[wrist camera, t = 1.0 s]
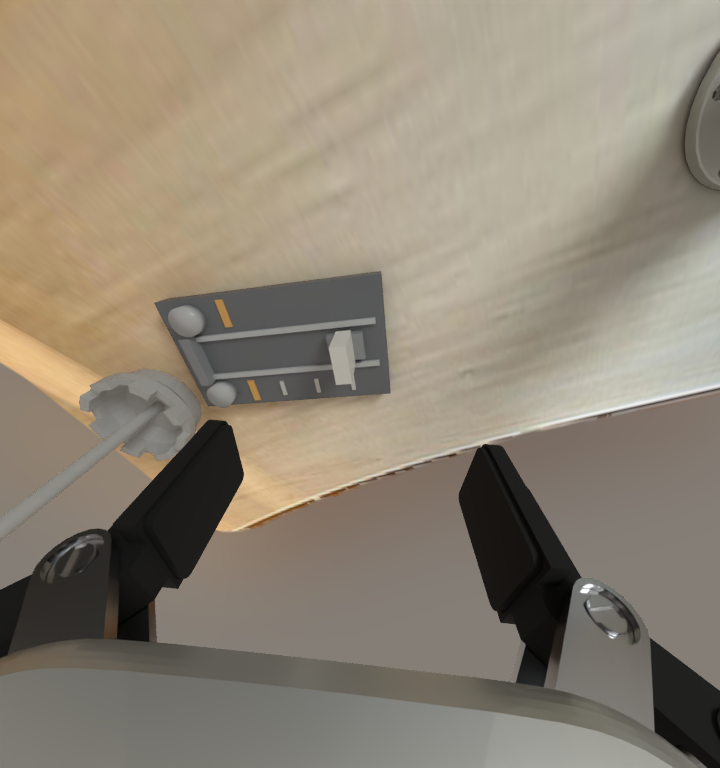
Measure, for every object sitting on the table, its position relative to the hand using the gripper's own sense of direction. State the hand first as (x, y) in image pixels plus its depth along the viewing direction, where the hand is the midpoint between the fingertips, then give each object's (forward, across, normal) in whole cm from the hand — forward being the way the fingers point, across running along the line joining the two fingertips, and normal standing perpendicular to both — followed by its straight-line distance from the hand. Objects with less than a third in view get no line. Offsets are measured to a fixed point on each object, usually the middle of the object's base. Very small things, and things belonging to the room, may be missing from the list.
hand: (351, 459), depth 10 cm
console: (+22, +10, +5) cm, 25 cm away
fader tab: (+20, +2, +3) cm, 20 cm away
